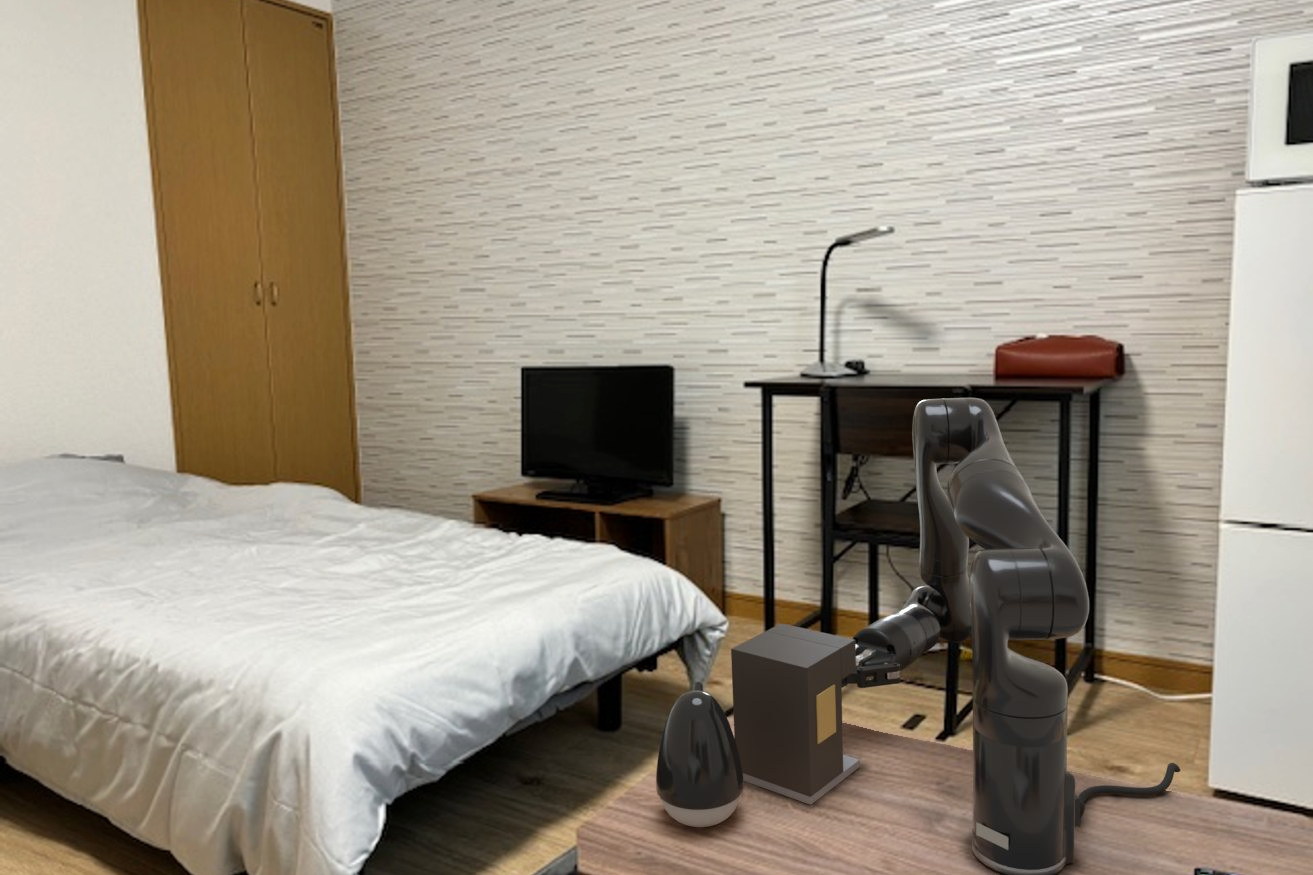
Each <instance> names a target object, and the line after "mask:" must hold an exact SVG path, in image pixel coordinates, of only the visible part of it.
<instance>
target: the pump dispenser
mask: <svg viewBox="0 0 1313 875" xmlns="http://www.w3.org/2000/svg"><path fill="white" fill-rule="evenodd" d="M692 689H693V690H689V691H687V692H685V693H683V694H681V695H680V696H679V697H678V698H677V699H676V701H675V702H674V703H673V705H672V707H671V708H670V711H669V713H668V716H667V718H666V721H665V724H664V728H663V732H662V736H661V740H660V744H659V748H658V749H659V750H658V755H657V762H656V770H655V771H656V772H655V790H656V793H657V796H658V797H659V798H660V801H661V804H662V806H663V808H664V809H665V811H666V813H667V814H668V815H669V816H670V817H671V818H672V819H673V820H675V821H676V822H678V823H680V824H682V825H685V826H688V827H694V828H707V827H712V826H716V825H718V824H720V823H722V822H724V821H725V820H727V819H728V818H729V817H730V816H731V815H732V814H733V813H734V812H735V810H736V808H737V806H738V804H739V802H740V798H741V795H742V793H743V791H744V787H745V783H744V782H745V781H744V779H743V771H742V766H741V761H740V756H739V752H738V748H737V745H736V741H735V737H734V731H733V729H732V727H731V724H730V721H729V718H728V716H727V714H726V713H725V711H724V709H723V707H722V706H721V704H720V703H719V702H718V700H717V699H716V698H715V697H714V696H713V695H712V694H711V693H708V692H706V691H704V684H703V682H701V681H696V682H694V684H693V688H692Z"/></svg>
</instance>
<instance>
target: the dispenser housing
mask: <svg viewBox="0 0 1313 875" xmlns="http://www.w3.org/2000/svg"><path fill="white" fill-rule="evenodd" d="M730 657H731V680H732V681H731V683H732V684H731V685H732V686H731V687H732V709H733V710H732V711H733V735H734V738H735V741H736V745H737V748H738V752H739V756H740V761H741V766H742V771H743V779H744V782H746V783H749V784H752V785H754V786H757V787H760V788H763V789H766V790H768V791H770V792H773V793H776V794H779V795H781V796H785V797H787V798H790V799H793V800H796V801H799V802H801V803H805V804H807V805H813V804H814V803H815V802H817V801H818V800H819V799H820V798H822V797H823V796H825V795H826V794H827V793H828V792H830V791H831V790H832V789H833V788H835V787H836V786H837V785H839V784H840V783H842V781H844V780H845V779H846V778H847V777H849V776H850V775H852V773H854V772H855V771H857V770H858V769H859V768H860V767H861V760H860V759H859V758H855V757H852V756H850V755H847V754H844V740H843V737H844V736H843V735H844V734H843V693H842V690H843V689H842V686H841V679H843V678H845V677H846V676H848V675H849V674H851V673H853V672H854V671H856V645H855V640H854V639H853V638H849V637H845V636H840V635H836V634H831V633H826V632H823V631H819V630H818V631H817V630H813V629H810V628H809V629H808V628H805V627H799V626H795V625H791V624H786V623H779V624H778V625H776V626H772V627H771V628H769V629H767V630H766V631H763V632H761V633H759V634H758V635H755V636H753V637H752V638H750V639H747V640H745V641H743V642H742V643H739V644H738V645H735V646H734V647H732V648H730Z"/></svg>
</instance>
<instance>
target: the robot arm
mask: <svg viewBox="0 0 1313 875" xmlns="http://www.w3.org/2000/svg"><path fill="white" fill-rule="evenodd" d="M911 431H912V432H911V434H912V452H913V465H914V466H913V467H914V479H915V489H916V498H917V499H916V500H917V506H918V508H917V509H918V516H919V557H918V558H919V559H918V560H919V561H918V572H919V576H920V579H921V580H922V582H923V583H924V584H926V585H921V586H917V587H915V588H914V589H913V590H912V591H911V592H910V594H909V596H908V598H907V600H906V601H905V603H904V605H903V606H902V607H901V609H899V610H897V611H895V612H894V613H892V614H889V615H885V616H884V617H881V618H879V619H878V620H875V621H874V622H872V623H871V624H869V625H867V626H866V627H864V628H862V629H860V630H859V631H857V632H856V634H854V636H853V637H852V639H854V640H855V645H856V671H854V672H853V673H851V674H849V675H848V676H846V677H845V678H843V679H841V686H842V688H844V687H847V688H848V687H852V686H854V685H856V686H857V688H858V689H866V688H867V689H868V688H874V687H875V688H876V687H882V686H890V685H897V684H900V683H901V673H902V671H903V670H905V669H906V668H908V667H909V666H910V665H912V664H914V662H916V661H917V660H918V659H919V658H920V657H921V656H922V655H924V654H926V653H927V652H928V651H930V650H931V649H932V648H935V646H936V645H937V643H938V642H939V641H940V639H942V640H944V641H947V642H950V643H957V644H959V643H963V642H965V641H967V640H968V639H969V638H970V637H971V652H972V653H971V654H972V657H971V660H972V661H971V662H972V835H971V849H972V853H973V854H974V856H975V857H976V859H977V860H979V861H980V862H981V863H982V864H983V865H985V866H986V867H988V868H990V869H992V870H994V871H996V872H997V873H1001V874H1005V875H1055V874H1057V873H1059V872H1060V871H1061V870H1062V869H1064V868H1065V866H1066V865H1067V864H1068V865H1069V864H1073V863H1075V828H1078V827H1080V826H1081V820H1082V818H1083V815H1084V813H1085V810H1086V805H1085V802H1086V801H1087V800H1088V799H1089V798H1090V797H1092V796H1095V795H1100V794H1117V795H1126V796H1155V795H1158V794H1159V795H1160V793H1163V792H1165V791H1166V790H1167V789H1168V788H1169V787H1170V786H1171V784H1172V782H1173V779H1174V775H1175V773H1180V772H1182V771H1181V768H1180V766H1179V765H1178V764H1177V763H1175V762H1170V763H1168V764H1167V767H1166V771H1165V774H1164V777H1163V779H1162V780H1161V782H1160V783H1158V784H1157V785H1154V786H1147V787H1134V786H1123V785H1108V784H1106V785H1105V784H1104V785H1103V784H1102V785H1093V786H1091V787H1088V788H1086V789H1084V790H1083V791H1081V792H1080V793H1079V795H1077V794H1076V778H1075V775H1073V774H1072V773H1071V772H1070V771H1068V768H1067V767H1068V704H1069V703H1068V702H1069V698H1068V697H1069V688H1068V682H1067V680H1066V678H1065V676H1064V675H1063V673H1062V672H1060V671H1059V670H1058V669H1056V668H1055V667H1053V666H1051V665H1050V664H1047V663H1045V662H1042V661H1039V660H1037V659H1034V658H1030V657H1028V656H1025V655H1023V654H1020V653H1018V652H1016V651H1014V650H1013V649H1011V648H1010V647H1008V643H1009V641H1021V640H1022V641H1023V640H1024V641H1025V640H1026V641H1032V640H1033V641H1034V640H1035V641H1036V640H1037V641H1040V640H1042V641H1043V640H1060V639H1067V638H1070V637H1073V636H1075V635H1077V634H1079V633H1080V632H1081V631H1082V630H1083V629H1084V627H1085V625H1086V623H1087V620H1088V618H1089V614H1090V613H1089V612H1090V598H1089V592H1088V587H1087V583H1086V580H1085V577H1084V574H1083V572H1082V570H1081V568H1080V565H1079V563H1078V562H1077V559H1076V558H1075V557H1074V555H1073V553H1072V552H1071V551H1070V549H1069V548H1068V546H1067V545H1066V544H1065V543H1064V541H1063V540H1062V539H1061V538H1060V537H1059V535H1058V534H1057V533H1056V532H1055V530H1054V528H1052V526H1051V525H1050V524H1049V522H1048V521H1047V520H1046V518H1045V517H1044V515H1043V513H1042V511H1041V510H1040V507H1039V505H1038V504H1037V503H1036V500H1035V498H1034V496H1033V494H1032V492H1031V489H1030V487H1029V485H1028V484H1027V482H1026V479H1025V478H1024V476H1023V475H1022V473H1021V471H1020V470H1019V468H1018V467H1017V465H1016V464H1015V461H1014V460H1013V458H1012V456H1011V454H1010V452H1009V450H1008V448H1007V447H1006V444H1005V440H1004V438H1003V435H1002V432H1001V429H1000V426H999V424H998V420H997V418H996V415H995V413H994V410H993V408H992V407H991V406H990V403H988V402H987V401H986V400H984V399H982V398H977V397H953V398H952V397H950V398H931V399H930V398H929V399H923V400H921V401H919V402H918V403H917V405H916V406H915V408H914V412H913V416H912V430H911ZM955 464H956V465H955ZM937 465H955V466H954V468H953V470H952V471H951V473H950V476H949V478H948V481H947V485H946V492H945V490H944V489H943V487H942V484H941V482H940V480H939V475H938V471H937V470H938V469H937ZM970 541H972V542H973V543H975V544H976V545H978V546H979V547H981V548H982V549H979V550H977V552H976V553H975V554H974V556H973V557H972V559H971V562H970V567H969V566H968V565H969V550H970ZM968 567H969V573H968Z"/></svg>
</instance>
